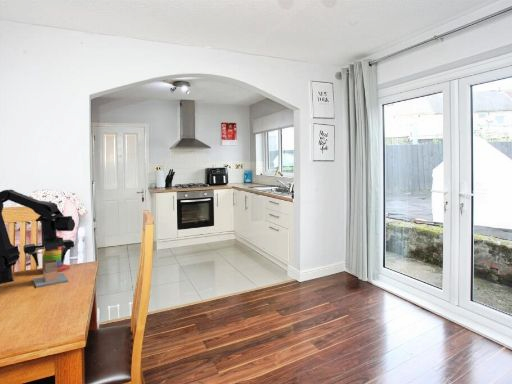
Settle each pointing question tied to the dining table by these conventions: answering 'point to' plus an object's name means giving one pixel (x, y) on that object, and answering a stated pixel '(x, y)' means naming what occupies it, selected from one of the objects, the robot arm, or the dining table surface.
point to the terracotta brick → (50, 276)
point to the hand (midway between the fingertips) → (50, 264)
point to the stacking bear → (55, 258)
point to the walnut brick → (50, 266)
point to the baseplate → (41, 282)
